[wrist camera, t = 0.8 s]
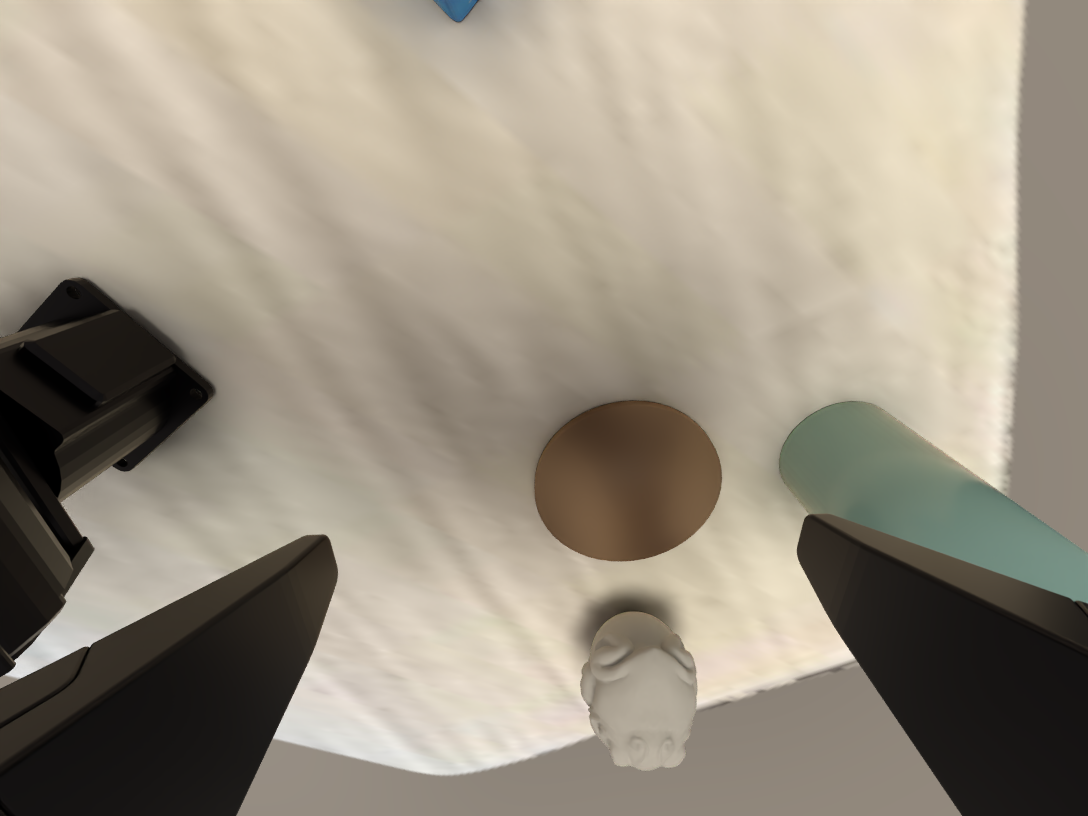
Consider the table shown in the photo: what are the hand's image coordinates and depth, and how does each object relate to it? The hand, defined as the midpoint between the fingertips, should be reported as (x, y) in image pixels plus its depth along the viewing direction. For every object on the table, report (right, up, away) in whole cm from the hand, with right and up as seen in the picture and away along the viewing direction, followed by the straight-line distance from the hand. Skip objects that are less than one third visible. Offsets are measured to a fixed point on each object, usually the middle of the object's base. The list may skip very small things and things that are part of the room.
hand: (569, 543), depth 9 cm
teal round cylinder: (+14, 0, +15) cm, 20 cm away
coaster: (+4, -1, +15) cm, 16 cm away
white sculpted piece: (+4, -10, +20) cm, 23 cm away
